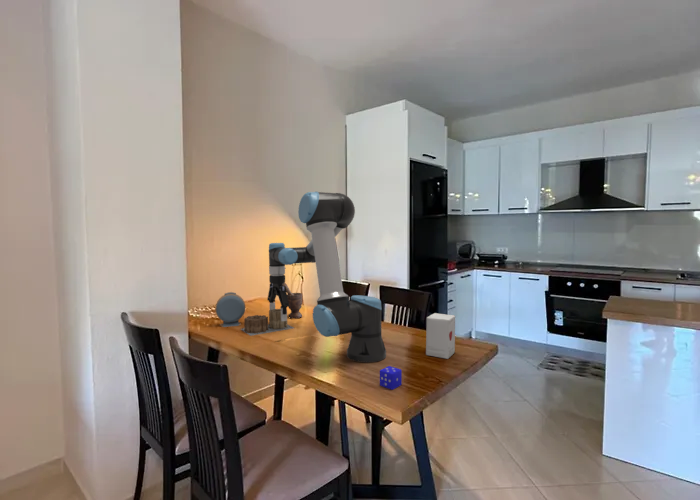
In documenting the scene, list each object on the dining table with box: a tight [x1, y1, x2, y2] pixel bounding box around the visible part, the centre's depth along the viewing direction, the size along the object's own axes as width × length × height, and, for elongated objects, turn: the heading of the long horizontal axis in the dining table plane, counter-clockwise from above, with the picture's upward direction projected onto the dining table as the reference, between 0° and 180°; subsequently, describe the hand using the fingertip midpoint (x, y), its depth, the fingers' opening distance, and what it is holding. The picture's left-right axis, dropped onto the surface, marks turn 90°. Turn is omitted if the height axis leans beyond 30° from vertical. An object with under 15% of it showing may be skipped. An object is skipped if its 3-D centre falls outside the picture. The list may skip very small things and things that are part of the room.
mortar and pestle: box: [282, 282, 304, 319], centre depth 208 cm, size 12×9×20 cm
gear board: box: [240, 323, 295, 337], centre depth 181 cm, size 14×22×6 cm, turn 124°
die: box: [379, 365, 403, 391], centre depth 119 cm, size 5×5×5 cm
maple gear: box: [268, 308, 288, 329], centre depth 184 cm, size 9×9×8 cm
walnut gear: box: [243, 314, 269, 334], centre depth 178 cm, size 10×10×6 cm
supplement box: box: [425, 312, 456, 360], centre depth 147 cm, size 9×9×15 cm
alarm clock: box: [215, 291, 246, 328], centre depth 189 cm, size 14×10×18 cm
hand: (278, 318), depth 184 cm, fingers open, 13 cm apart
